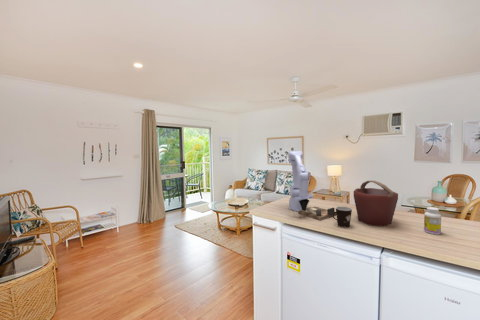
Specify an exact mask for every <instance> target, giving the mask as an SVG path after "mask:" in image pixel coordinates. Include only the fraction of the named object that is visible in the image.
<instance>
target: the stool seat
mask: <svg viewBox="0 0 480 320" xmlns="http://www.w3.org/2000/svg"><path fill="white" fill-rule="evenodd" d="M310 207H311V206H310ZM311 208H315V209H317V215H315V214H311V213H308V212H305V211H301V210H300V211H297V212H298V213H297V214H299V215H301V216H303V217H304V216H305V217H308V218H310V219H314V220H318V221H320V222H321V221H323V220H326V219H330V218H333V213H334V212H336V207H329V208H327V209H326V208H322V207H319V206H312V207H311ZM334 217H337V215H336V213H335V214H334Z"/></svg>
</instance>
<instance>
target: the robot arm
mask: <svg viewBox="0 0 480 320" xmlns="http://www.w3.org/2000/svg"><path fill="white" fill-rule="evenodd" d="M287 154H288V163H290V165H291V171H292V182H293V184H292V185H291V186H290V188H289V195H290V197H289V199H288V203H289V204H288V205H289V208H288V209H289V210H292V211H295V212H298V211H300V210H301V208H302V210H303V211H306V207H307V206H308V205H309V203H310V199H313V194H309V181H310V172H309V171H308V170H307V169H306V166H305V165H304V164H303V162H302V161H303V158H304V157H303V156H304V154H303V151H302V150H289V151H288V153H287Z"/></svg>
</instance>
